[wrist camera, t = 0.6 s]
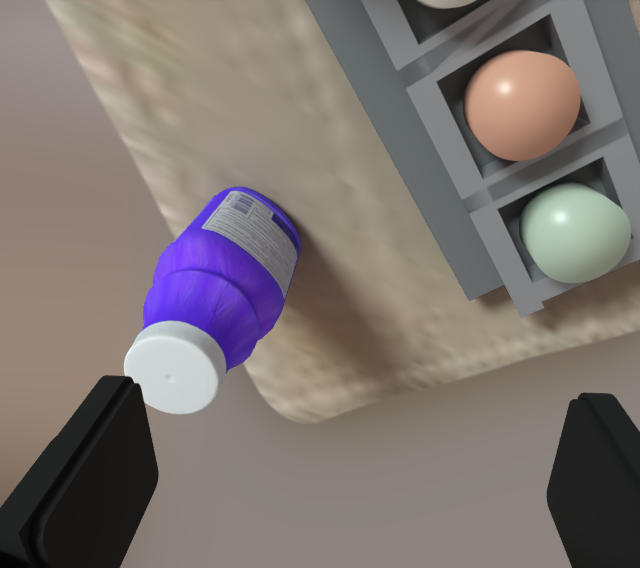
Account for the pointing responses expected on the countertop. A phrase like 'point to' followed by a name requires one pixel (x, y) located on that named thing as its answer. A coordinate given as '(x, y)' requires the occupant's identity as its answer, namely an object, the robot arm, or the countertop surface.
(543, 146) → the peach rounded dome
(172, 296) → the bottle
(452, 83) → the grey compartment tray
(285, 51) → the countertop surface
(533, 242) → the sage button
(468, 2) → the cream button
